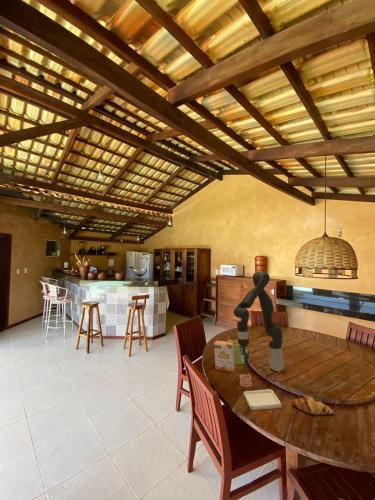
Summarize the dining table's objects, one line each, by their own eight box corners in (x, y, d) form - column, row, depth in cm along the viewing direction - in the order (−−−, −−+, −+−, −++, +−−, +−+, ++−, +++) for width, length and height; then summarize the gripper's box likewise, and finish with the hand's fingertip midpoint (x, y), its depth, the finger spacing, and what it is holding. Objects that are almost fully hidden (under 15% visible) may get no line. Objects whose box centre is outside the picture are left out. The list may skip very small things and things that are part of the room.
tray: (271, 392, 146) (271, 389, 146) (281, 407, 132) (281, 403, 132) (243, 395, 145) (243, 391, 145) (250, 410, 131) (250, 406, 131)
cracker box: (215, 369, 178) (213, 342, 178) (217, 366, 183) (216, 340, 183) (233, 372, 172) (231, 345, 172) (235, 368, 177) (233, 342, 178)
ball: (247, 360, 160) (247, 352, 160) (250, 364, 154) (249, 355, 154) (239, 360, 160) (239, 353, 160) (242, 364, 154) (241, 356, 154)
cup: (250, 379, 161) (249, 372, 161) (254, 386, 153) (253, 378, 153) (238, 380, 161) (237, 373, 161) (241, 387, 153) (241, 379, 153)
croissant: (332, 417, 127) (331, 400, 130) (335, 420, 119) (333, 401, 122) (290, 407, 136) (290, 392, 139) (290, 409, 127) (290, 393, 131)
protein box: (247, 364, 183) (246, 345, 184) (228, 363, 187) (226, 344, 187) (246, 358, 194) (245, 339, 194) (228, 357, 197) (227, 339, 197)
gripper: (251, 340, 150) (253, 366, 150) (245, 332, 164) (247, 356, 164) (240, 341, 150) (242, 367, 150) (235, 333, 164) (236, 357, 164)
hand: (244, 361), depth 157 cm, fingers closed on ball, 5 cm apart
